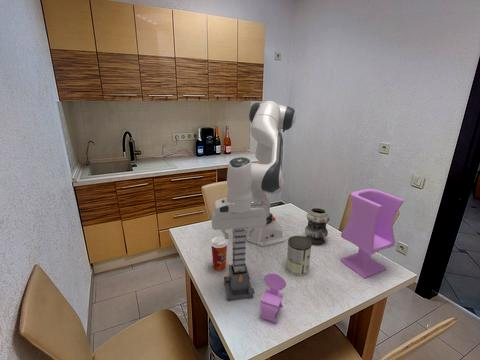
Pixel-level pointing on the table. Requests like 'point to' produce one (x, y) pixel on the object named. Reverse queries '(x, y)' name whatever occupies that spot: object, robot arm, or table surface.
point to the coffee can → (298, 255)
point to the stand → (238, 285)
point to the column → (239, 250)
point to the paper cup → (219, 252)
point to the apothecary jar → (317, 225)
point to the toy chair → (272, 296)
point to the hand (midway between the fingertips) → (239, 237)
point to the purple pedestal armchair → (370, 229)
